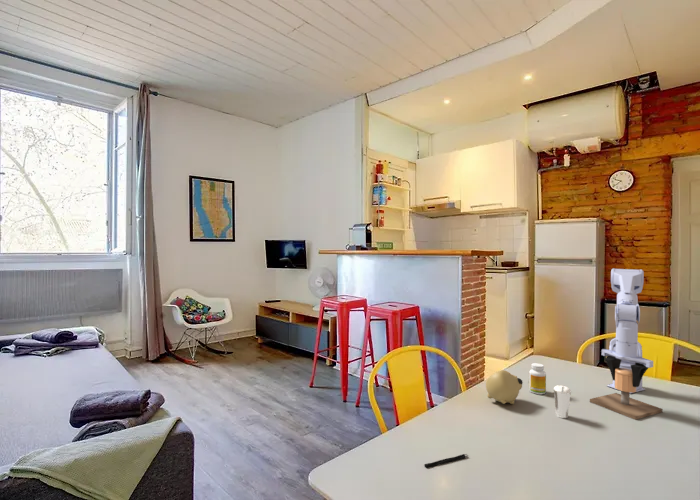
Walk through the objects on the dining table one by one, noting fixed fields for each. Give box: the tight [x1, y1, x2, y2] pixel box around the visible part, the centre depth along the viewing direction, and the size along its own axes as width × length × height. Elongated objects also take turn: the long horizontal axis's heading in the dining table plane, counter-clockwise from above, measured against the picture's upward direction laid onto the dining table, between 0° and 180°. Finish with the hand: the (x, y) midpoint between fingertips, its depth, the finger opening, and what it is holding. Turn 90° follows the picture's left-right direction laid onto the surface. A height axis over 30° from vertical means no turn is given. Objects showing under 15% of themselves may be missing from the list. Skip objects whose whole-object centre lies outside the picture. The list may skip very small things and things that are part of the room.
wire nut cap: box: [615, 368, 637, 393], centre depth 123 cm, size 6×6×6 cm
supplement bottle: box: [528, 362, 547, 395], centre depth 135 cm, size 5×5×10 cm
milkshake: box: [553, 384, 572, 419], centre depth 115 cm, size 4×5×10 cm
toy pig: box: [485, 370, 524, 405], centre depth 126 cm, size 10×12×11 cm
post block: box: [589, 391, 663, 420], centre depth 123 cm, size 14×14×5 cm
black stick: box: [423, 453, 469, 469], centre depth 90 cm, size 12×1×1 cm, turn 113°
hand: (625, 383), depth 123 cm, fingers closed on wire nut cap, 6 cm apart
